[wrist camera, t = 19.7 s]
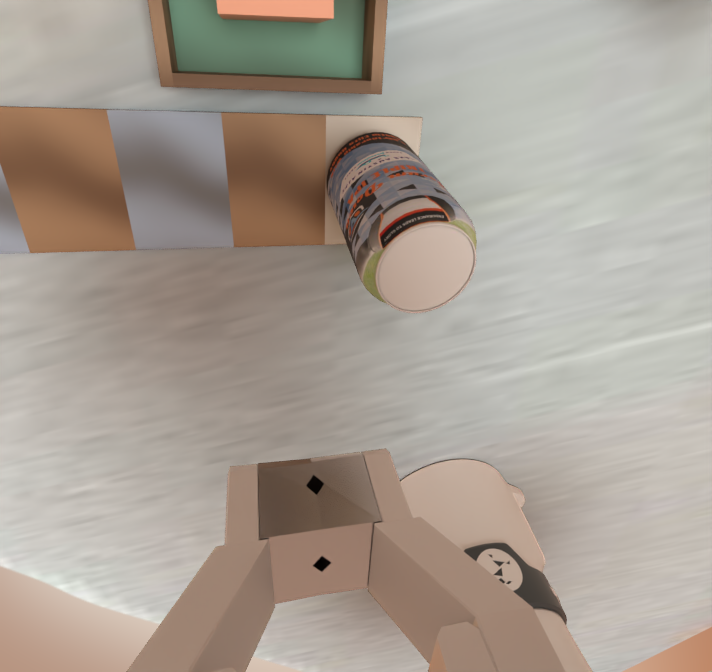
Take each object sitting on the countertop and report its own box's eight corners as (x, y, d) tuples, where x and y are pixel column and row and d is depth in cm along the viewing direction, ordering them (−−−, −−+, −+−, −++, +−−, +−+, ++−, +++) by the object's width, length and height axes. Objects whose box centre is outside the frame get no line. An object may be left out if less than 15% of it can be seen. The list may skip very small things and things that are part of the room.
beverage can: (406, 116, 29) (492, 153, 19) (421, 227, 33) (499, 304, 23) (309, 143, 29) (345, 195, 19) (337, 251, 33) (379, 341, 23)
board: (407, 240, 33) (409, 242, 33) (-82, 254, 27) (-85, 256, 27) (421, 117, 29) (422, 117, 29) (-153, 102, 23) (-158, 102, 23)
